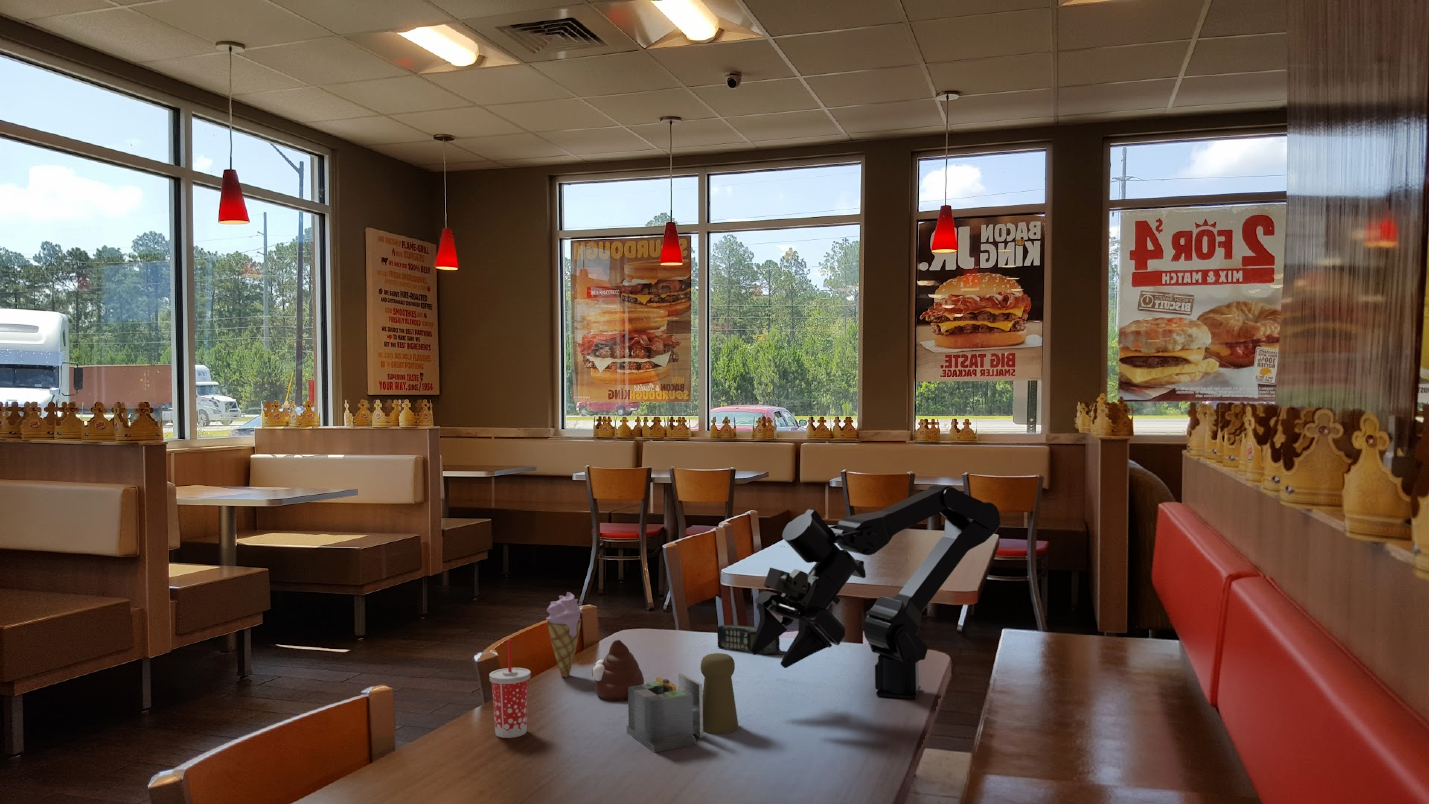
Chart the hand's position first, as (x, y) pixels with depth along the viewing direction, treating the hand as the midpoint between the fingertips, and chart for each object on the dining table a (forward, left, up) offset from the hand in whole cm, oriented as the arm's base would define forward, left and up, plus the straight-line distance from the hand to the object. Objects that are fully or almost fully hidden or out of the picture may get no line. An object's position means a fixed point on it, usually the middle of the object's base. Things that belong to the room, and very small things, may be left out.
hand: (767, 659), depth 154 cm
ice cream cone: (+42, -12, -9) cm, 45 cm away
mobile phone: (+15, -39, -9) cm, 43 cm away
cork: (+6, +6, -9) cm, 13 cm away
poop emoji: (+28, -5, -9) cm, 30 cm away
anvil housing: (+12, +13, -9) cm, 20 cm away
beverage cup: (+35, +18, -9) cm, 40 cm away
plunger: (+10, +12, -9) cm, 18 cm away
